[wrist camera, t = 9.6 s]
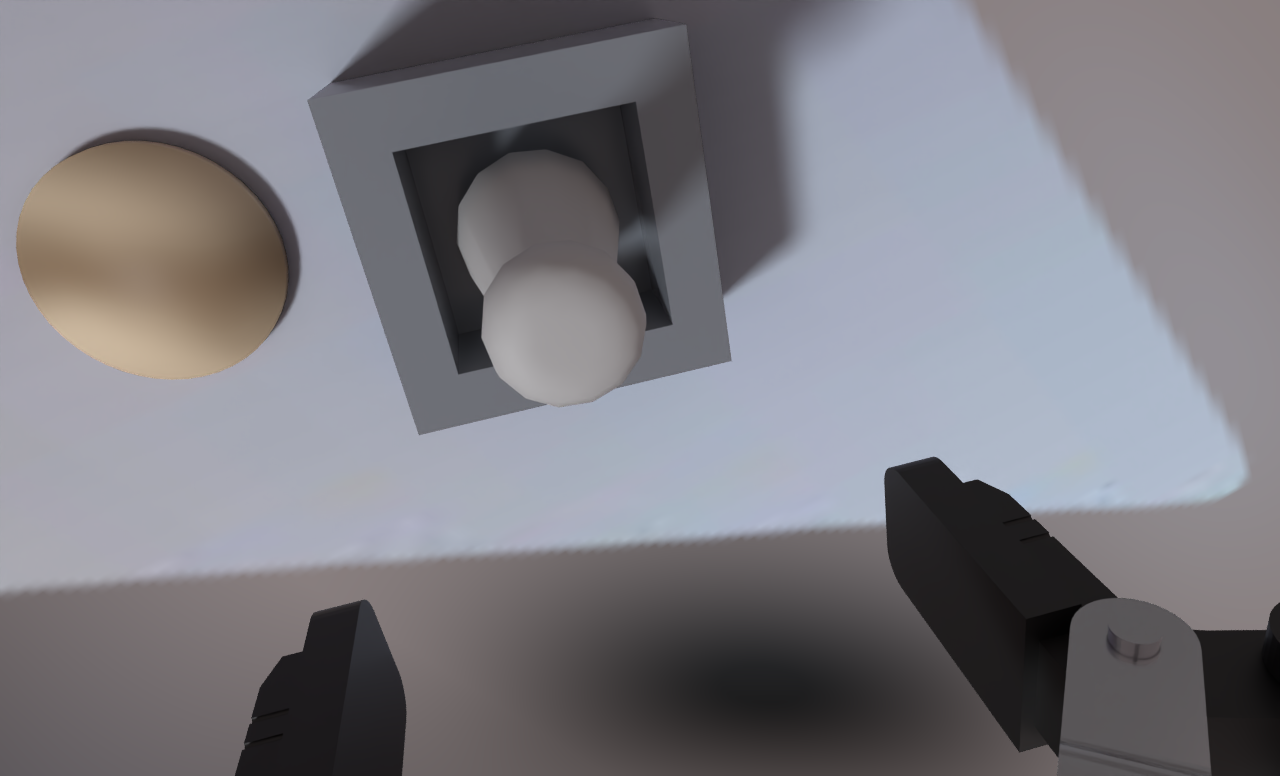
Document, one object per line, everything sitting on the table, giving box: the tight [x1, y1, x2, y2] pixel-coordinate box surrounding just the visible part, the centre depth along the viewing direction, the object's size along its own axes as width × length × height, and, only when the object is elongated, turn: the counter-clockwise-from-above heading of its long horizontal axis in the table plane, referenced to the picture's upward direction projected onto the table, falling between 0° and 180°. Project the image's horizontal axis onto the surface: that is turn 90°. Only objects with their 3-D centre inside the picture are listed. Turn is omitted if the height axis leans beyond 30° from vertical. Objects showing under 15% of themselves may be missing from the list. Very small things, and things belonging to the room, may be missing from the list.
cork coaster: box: [16, 141, 289, 380], centre depth 32 cm, size 9×9×1 cm
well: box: [307, 18, 731, 435], centre depth 32 cm, size 12×12×5 cm
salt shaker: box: [457, 149, 646, 407], centre depth 27 cm, size 6×6×13 cm
